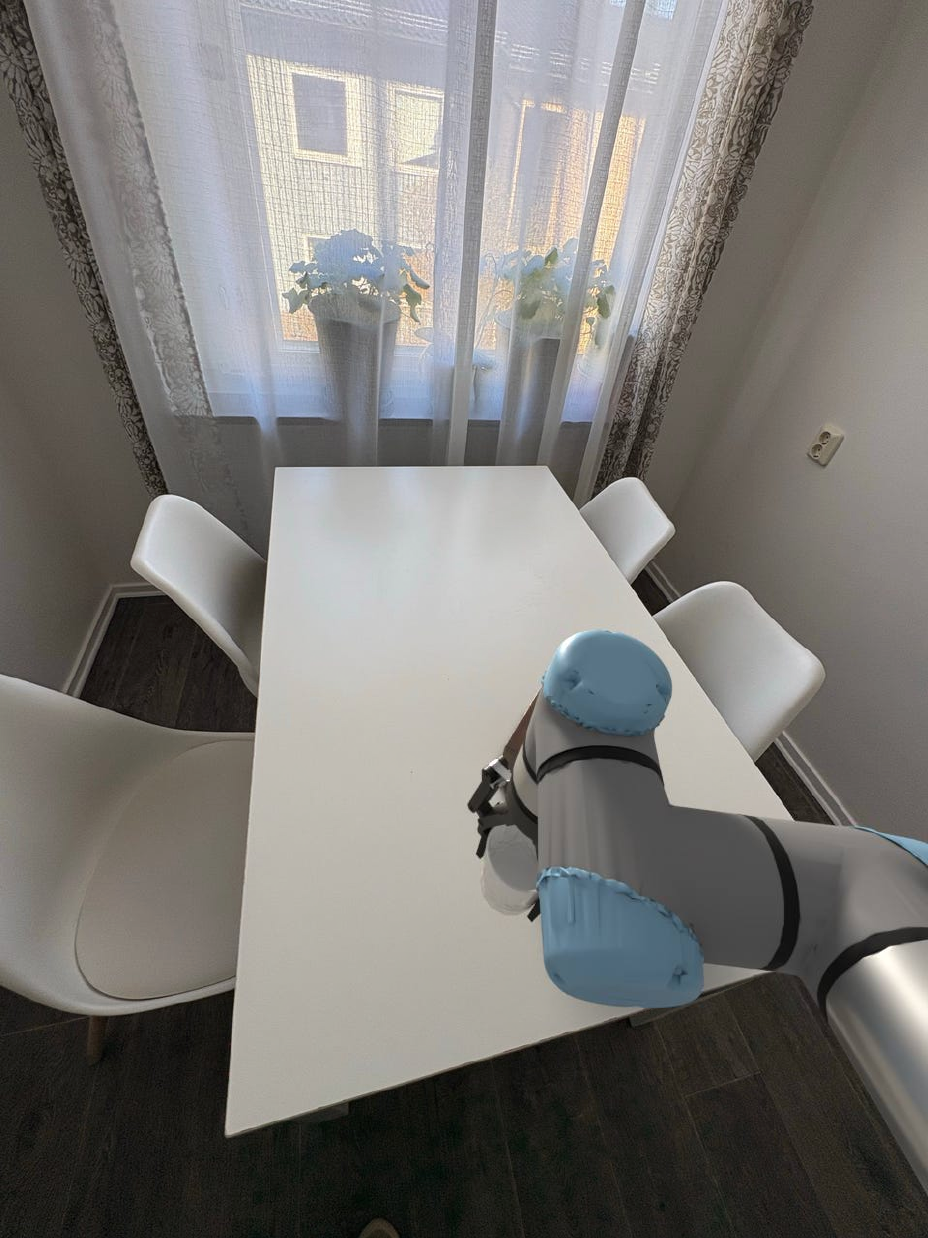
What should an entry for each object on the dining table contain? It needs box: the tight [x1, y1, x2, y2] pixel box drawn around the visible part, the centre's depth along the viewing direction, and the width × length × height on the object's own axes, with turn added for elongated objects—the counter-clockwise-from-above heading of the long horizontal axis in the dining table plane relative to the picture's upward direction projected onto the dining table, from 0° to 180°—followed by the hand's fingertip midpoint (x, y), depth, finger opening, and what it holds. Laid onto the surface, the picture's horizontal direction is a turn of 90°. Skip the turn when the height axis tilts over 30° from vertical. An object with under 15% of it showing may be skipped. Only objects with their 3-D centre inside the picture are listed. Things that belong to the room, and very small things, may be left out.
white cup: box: [479, 825, 539, 916], centre depth 55 cm, size 8×8×10 cm
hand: (511, 879), depth 58 cm, fingers closed on white cup, 8 cm apart
